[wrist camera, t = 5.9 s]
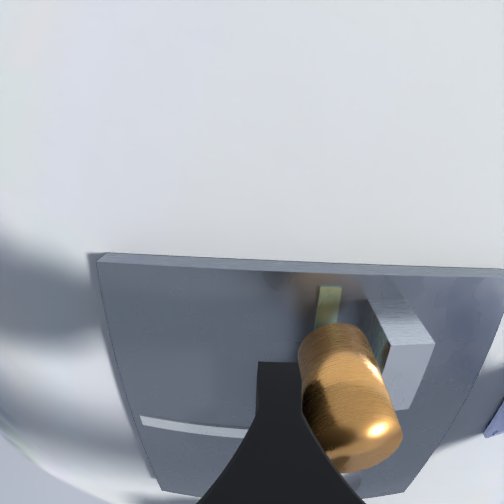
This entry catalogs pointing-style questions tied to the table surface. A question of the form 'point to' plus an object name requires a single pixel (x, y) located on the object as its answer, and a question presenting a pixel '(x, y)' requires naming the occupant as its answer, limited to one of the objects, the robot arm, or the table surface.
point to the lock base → (287, 349)
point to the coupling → (347, 400)
